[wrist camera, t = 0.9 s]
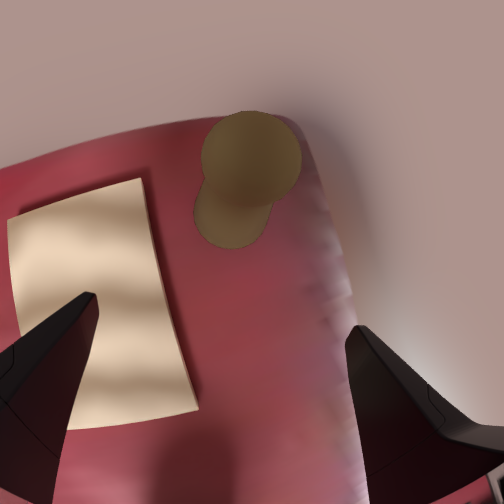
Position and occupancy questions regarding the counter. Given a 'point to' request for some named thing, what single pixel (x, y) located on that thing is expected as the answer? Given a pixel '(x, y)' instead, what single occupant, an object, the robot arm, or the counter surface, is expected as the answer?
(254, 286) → the counter surface
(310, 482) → the counter surface
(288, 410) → the counter surface
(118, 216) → the birch board
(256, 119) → the cork
